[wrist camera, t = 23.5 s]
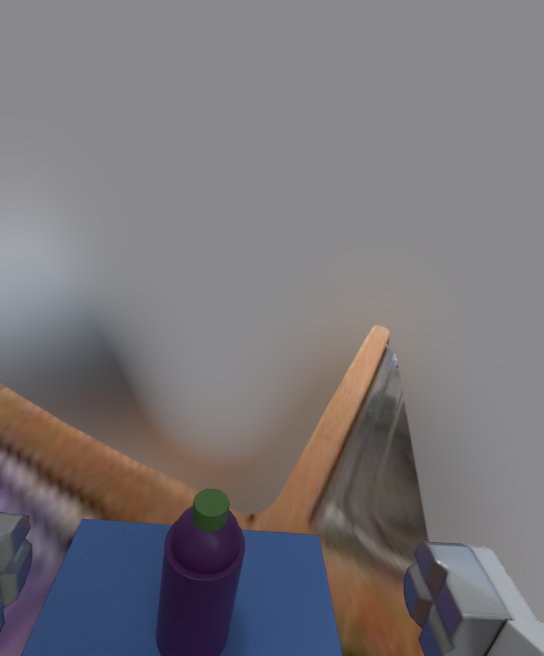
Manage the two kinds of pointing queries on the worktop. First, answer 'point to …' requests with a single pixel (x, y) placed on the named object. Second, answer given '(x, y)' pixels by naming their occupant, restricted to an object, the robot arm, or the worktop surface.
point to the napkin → (144, 591)
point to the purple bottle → (200, 578)
